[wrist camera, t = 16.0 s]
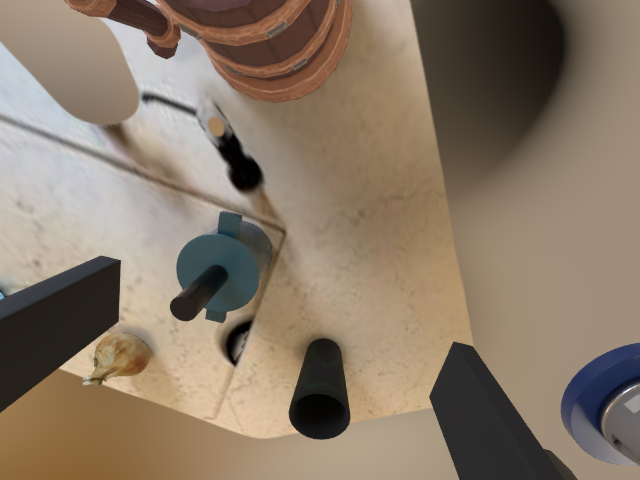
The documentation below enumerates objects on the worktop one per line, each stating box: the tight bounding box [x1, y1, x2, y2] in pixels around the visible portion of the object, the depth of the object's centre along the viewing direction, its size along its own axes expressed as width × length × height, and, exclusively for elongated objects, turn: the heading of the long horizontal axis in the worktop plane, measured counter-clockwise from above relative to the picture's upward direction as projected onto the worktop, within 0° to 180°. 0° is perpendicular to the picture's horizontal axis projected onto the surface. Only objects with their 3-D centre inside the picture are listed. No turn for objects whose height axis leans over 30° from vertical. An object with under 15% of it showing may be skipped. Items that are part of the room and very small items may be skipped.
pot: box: [205, 211, 272, 323], centre depth 40 cm, size 9×15×8 cm, turn 167°
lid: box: [170, 233, 260, 321], centre depth 32 cm, size 10×10×9 cm
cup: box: [289, 338, 350, 440], centre depth 42 cm, size 8×8×12 cm
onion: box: [83, 333, 149, 385], centre depth 46 cm, size 8×8×8 cm
